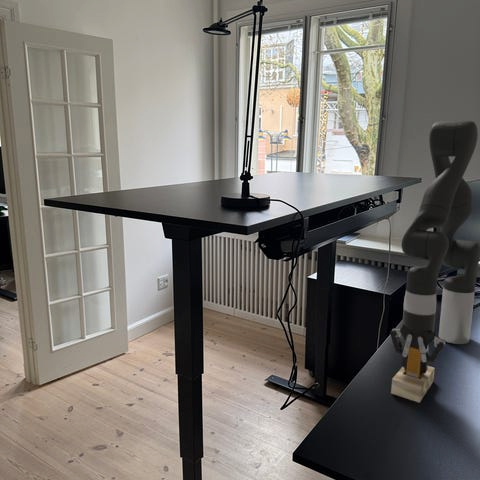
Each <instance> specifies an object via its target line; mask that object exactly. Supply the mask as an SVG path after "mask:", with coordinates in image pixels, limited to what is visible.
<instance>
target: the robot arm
mask: <svg viewBox="0 0 480 480" xmlns="http://www.w3.org/2000/svg"><path fill="white" fill-rule="evenodd" d="M477 143H478V126H477V124H476V122H474V121H472V120H449V121H436V122H435V123H433V125H432V126H431V127H430V130H429V150H430V155H431V156H430V157H431V162H432V166H433V170H434V171H433V172H434V175H435V176H434V177H435V178H434V180H433V181H431V182H430V184H429V185H428V186H427V188H426V189H425V190H424V191H425V192H424V193H423V197H422V200H421V204H420V207H419V210H418V213H417V214H416V217H414V219H413V221H412V223H411V224H410V226H409V227H408V228H407V229H406V232H405V233H404V235H403V237H402V240H401V250H402V252H403V254H404V255H405V256H407V257H408V258H415V259H419V260H420V259H422V260H429V261H428V264H427V265H425V266H424V265H423V266H421V265H420V266H413V267H410V268H409V269H408V270H407V274H406V285H405V286H406V287H405V288H406V289H405V295H404V300H403V312H402V313H403V314H402V325H401V327H400V328H396V327H394V328H392V330H390V332H389V335H390V338H391V341H392V343H393V347H394V350H395V352H396V353H397V354H400V355H401V356H402V363H401V365H402V367H403V368H404V370H406V371H407V362H408V352H409V348H410V347H411V346H416V347H418V348H419V349H420V353H421V360H422V361H421V364H420V375H423V374H424V373H426V371H427V369H428V366H429V362H431V363H433V362H434V361H435V360H436V359H437V357H438V356H439V354H440V352H441V351H442V349H443V348H444V346H446V344H447V343H450V344H454V345H467V344H468V343H469V342H470V337H471V331H472V329H471V328H472V321H473V320H472V319H473V310H474V302H475V301H474V300H475V291H476V285H477V283H476V282H477V273H478V268H479V263H480V243H479V242H478V241H473V240H464V239H457V238H456V239H455V238H454V235H455V234H456V232H458V230H459V229H460V228H461V227H462V225H464V223H465V222H466V221H468V219H469V218H470V216H471V214H472V212H473V194H472V193H473V192H472V189H471V187H470V185H469V183H467V181H466V180H465V179H464V178H463V177H464V174H465V173H466V171H467V169H468V167H469V164H470V162H471V159H472V158H473V154H474V152H475V149H476V147H477ZM451 157H454V159H453V160H452V162H451V160H450V158H451ZM435 228H439V229H440V231H432V230H430V229H435ZM442 265H443V266H445V267H448V268H452V269H459V270H464V273H462V274H460V275H459V274H458V275H455V276H454V275H453V276H449V277H446V278H445V279H444V280H443V286H442V295H441V296H442V298H441V308H440V319H439V327H438V329H439V330H438V336H437V335H436V333H435V322H436V311H437V287H438V279H439V278H438V277H439V273H440V271H441V267H442ZM401 336H402V337H403V339H404V341H405V343H404V346H403V343H402V341H401ZM433 342H434V344H433V346H434V347H435V348H434V350H433V351H432V354H429V345H430V344H431V343H433ZM446 342H447V343H446Z"/></svg>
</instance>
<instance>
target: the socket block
mask: <svg viewBox="0 0 480 480" xmlns="http://www.w3.org/2000/svg"><path fill="white" fill-rule="evenodd" d="M406 372H407V371H406V370H404V368H403V366H402V367H400V369H399V370H398V372H396V374H395V375H394V376H393V377H392V379H391V390H390V394H391V395H395V396H398V397H401V398H404V399H408V400H409V401H414V402H416V403H419V404H420V403H421V401H422V400H423V398H424V396H425V395H426V394H427V392H428V390H429V389H430V388H431V386H432V384H433V383H434V378H435V367H433V366H429V365H428V369H427V371H426V373H424V374H423V375H421V379H418V378H414V377H411V376H407V375H406Z"/></svg>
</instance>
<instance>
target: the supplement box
mask: <svg viewBox="0 0 480 480" xmlns="http://www.w3.org/2000/svg"><path fill="white" fill-rule="evenodd" d="M421 361H422V360H421V353H420V349H419V348H418V347H416V346H411V347H410V348H409V352H408V362H407V372H406V375H407V376H411V377H414V378H418V379H421V375H420V364H421Z"/></svg>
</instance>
